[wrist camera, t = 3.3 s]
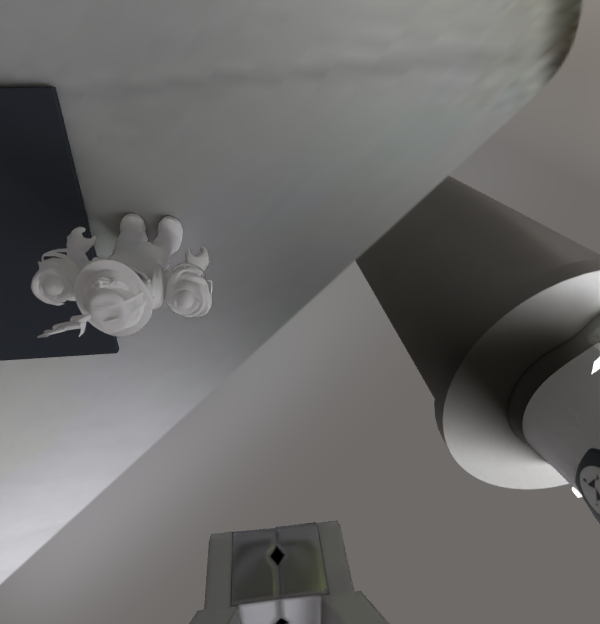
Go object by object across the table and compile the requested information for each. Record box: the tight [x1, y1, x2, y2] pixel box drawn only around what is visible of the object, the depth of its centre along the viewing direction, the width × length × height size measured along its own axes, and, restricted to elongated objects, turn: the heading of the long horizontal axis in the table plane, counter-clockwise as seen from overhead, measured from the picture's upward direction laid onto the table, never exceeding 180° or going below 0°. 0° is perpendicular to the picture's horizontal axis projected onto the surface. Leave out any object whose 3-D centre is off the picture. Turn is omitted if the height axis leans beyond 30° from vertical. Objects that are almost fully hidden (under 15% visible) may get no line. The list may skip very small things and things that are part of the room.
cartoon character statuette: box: [31, 213, 213, 338], centre depth 25 cm, size 9×4×12 cm, turn 80°
